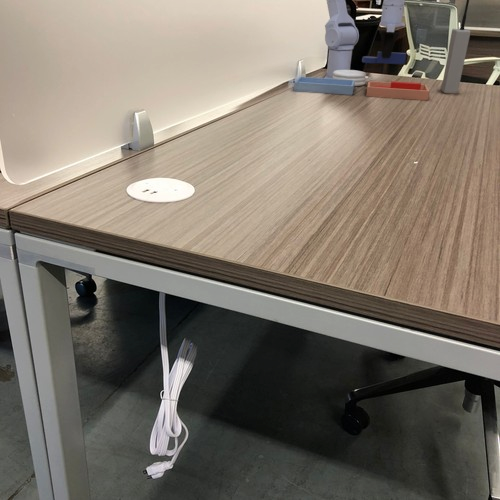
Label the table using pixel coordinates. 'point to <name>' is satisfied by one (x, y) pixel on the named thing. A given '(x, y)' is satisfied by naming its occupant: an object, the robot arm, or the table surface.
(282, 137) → the table surface
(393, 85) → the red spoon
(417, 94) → the red bin
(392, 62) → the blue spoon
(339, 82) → the blue bin
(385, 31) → the robot arm
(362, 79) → the coaster
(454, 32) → the vintage mobile phone
